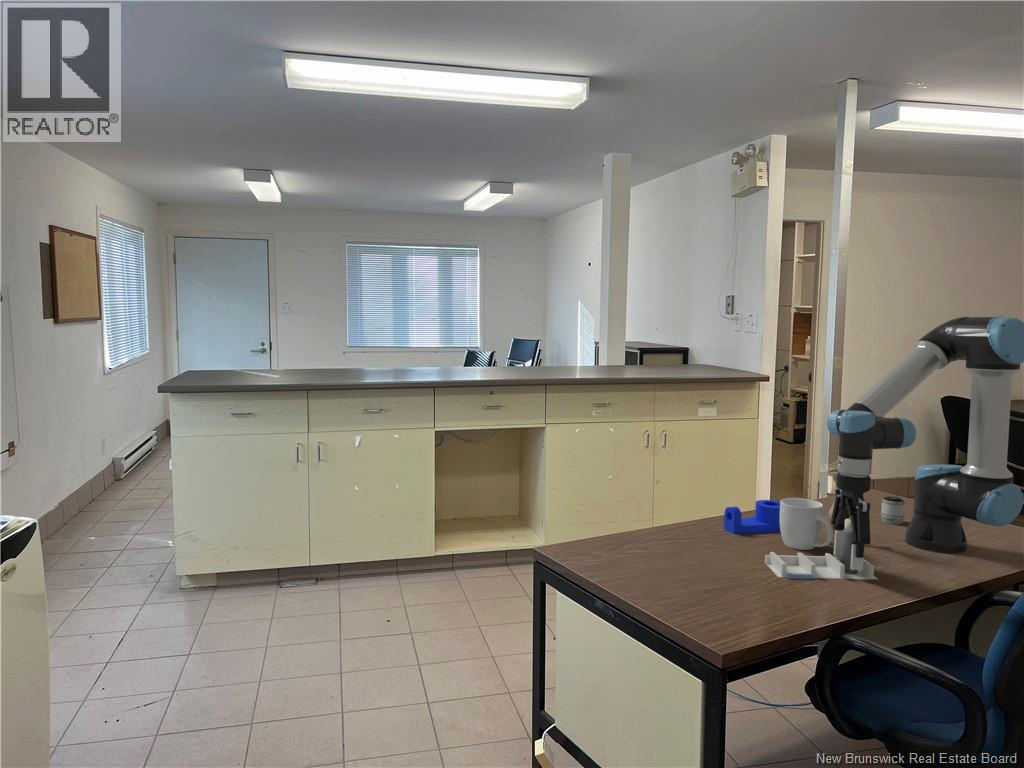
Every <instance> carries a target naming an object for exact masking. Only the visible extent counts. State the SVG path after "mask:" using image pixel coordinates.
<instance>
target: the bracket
mask: <svg viewBox="0 0 1024 768" xmlns="http://www.w3.org/2000/svg"><path fill="white" fill-rule="evenodd" d="M754 512H755V513H754V516H751V517H745V518H742V512H741V509H740V508H739V507H738V506H727V507H726V508H725V510H724V520H723V521H724V522H723V530H725V531H727V532H728V533H731V534H733V535H737V534H738V535H740V534H761V533H781V531H780V501H778V500H772V499H759V500H756V501H755V510H754Z"/></svg>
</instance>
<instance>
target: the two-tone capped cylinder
mask: <svg viewBox="0 0 1024 768" xmlns="http://www.w3.org/2000/svg"><path fill="white" fill-rule="evenodd" d="M853 541H854V537H853V530H852V522H851V518H849V519H845V529H844V530H842V534H841V552H840V556H839V557H840V562H841V563H842V564H843V565H845V571H844V573H846V574H857V570H852V569H850V566H851V551H852V543H851V542H853Z"/></svg>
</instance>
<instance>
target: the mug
mask: <svg viewBox="0 0 1024 768" xmlns="http://www.w3.org/2000/svg"><path fill="white" fill-rule="evenodd" d="M779 502H780V531H781V532H780V535H781V539H782V541H783V543H784V546H786V547H788V548H791V549H795V550H803V551H806V550H807V551H810V550H813V549H815V548H823V547H827V546H828V545H831V544H830V542H831V541H832V537H833V530H832V526H831V524H830V522H831V521H830V520H828V519H827V518H825V517H824V505H823V503H821V502H819V501H816V500H813V499H808V498H802V497H788V498H787V497H785V498H781V499H780V501H779ZM823 525H825V527H826V530H827V531H826V532H828V536H827V540H826V542H823V543H819V540H820V538H821V535H822V530H823V529H822V528H823Z"/></svg>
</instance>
